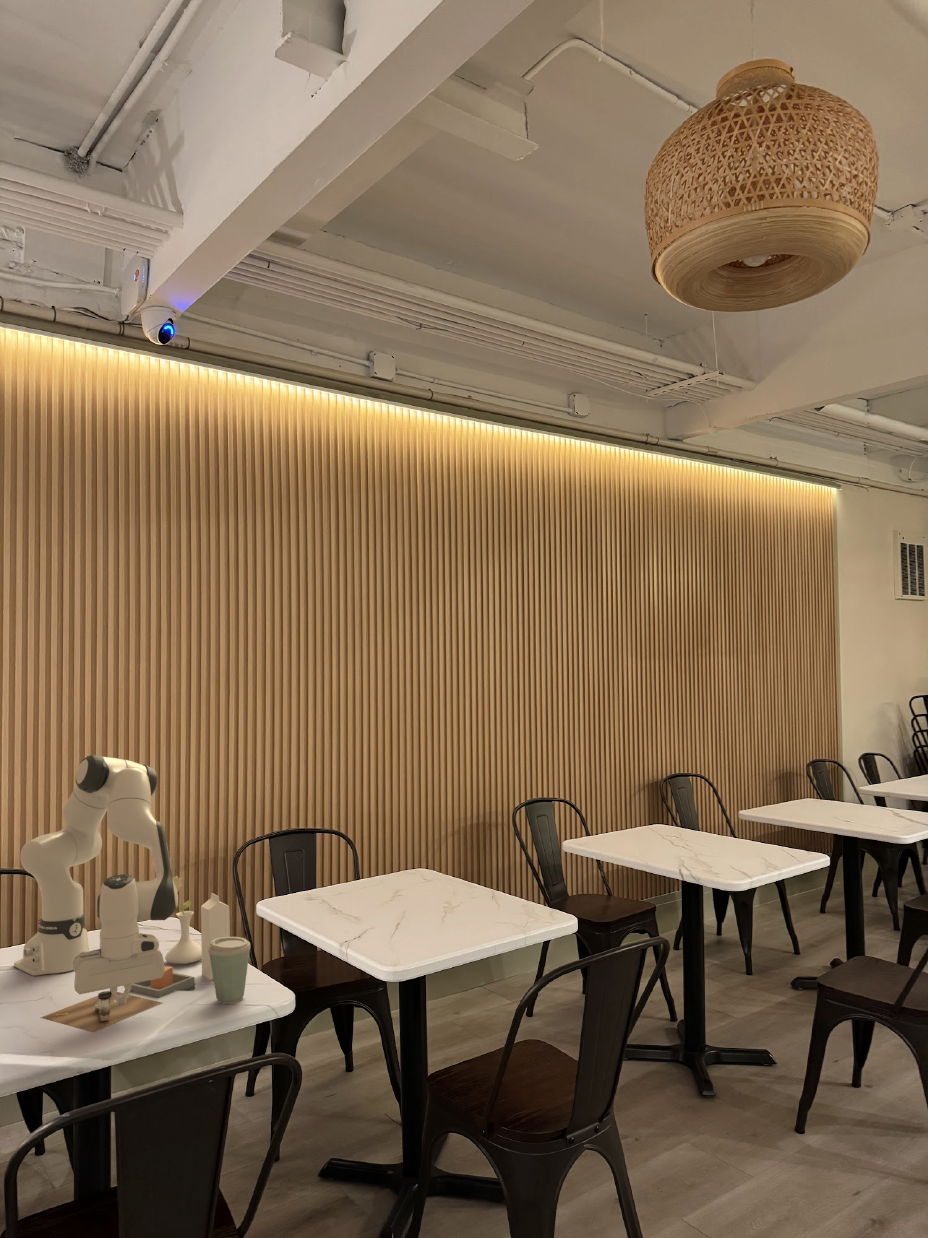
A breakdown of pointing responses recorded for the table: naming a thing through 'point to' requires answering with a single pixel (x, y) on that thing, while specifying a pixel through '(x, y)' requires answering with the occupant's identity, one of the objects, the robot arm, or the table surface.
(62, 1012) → the plate
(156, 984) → the orange block
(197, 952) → the flower in vase
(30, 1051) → the table surface
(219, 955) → the disposable coffee cup
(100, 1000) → the crank
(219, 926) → the milk
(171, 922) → the table surface
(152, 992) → the tray
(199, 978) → the table surface
